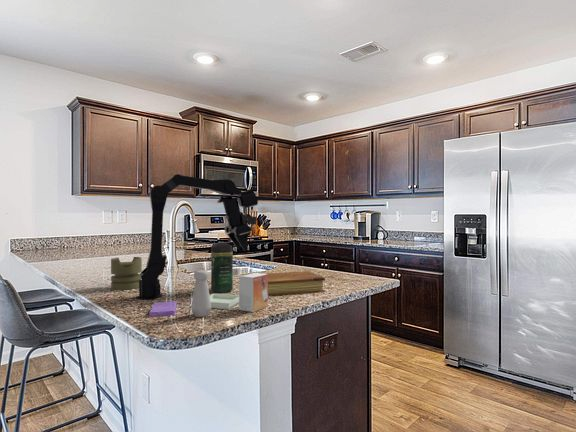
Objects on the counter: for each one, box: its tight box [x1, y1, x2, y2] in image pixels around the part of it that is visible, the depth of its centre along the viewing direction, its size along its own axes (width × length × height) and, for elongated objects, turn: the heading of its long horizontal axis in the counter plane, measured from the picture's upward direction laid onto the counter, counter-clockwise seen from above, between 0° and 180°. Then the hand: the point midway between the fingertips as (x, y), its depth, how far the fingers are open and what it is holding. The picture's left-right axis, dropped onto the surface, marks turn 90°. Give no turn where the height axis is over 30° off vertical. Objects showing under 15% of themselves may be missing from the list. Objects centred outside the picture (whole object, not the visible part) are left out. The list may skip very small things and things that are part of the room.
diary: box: [265, 270, 326, 296], centre depth 143 cm, size 23×19×6 cm
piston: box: [110, 256, 143, 291], centre depth 146 cm, size 11×12×11 cm
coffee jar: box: [210, 242, 234, 294], centre depth 140 cm, size 10×8×19 cm
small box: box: [238, 272, 269, 313], centre depth 113 cm, size 8×6×10 cm
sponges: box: [149, 300, 178, 318], centre depth 111 cm, size 7×13×2 cm, turn 15°
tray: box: [209, 293, 239, 310], centre depth 119 cm, size 12×12×2 cm
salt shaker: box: [190, 269, 212, 318], centre depth 105 cm, size 6×6×13 cm
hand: (242, 249), depth 143 cm, fingers open, 9 cm apart
